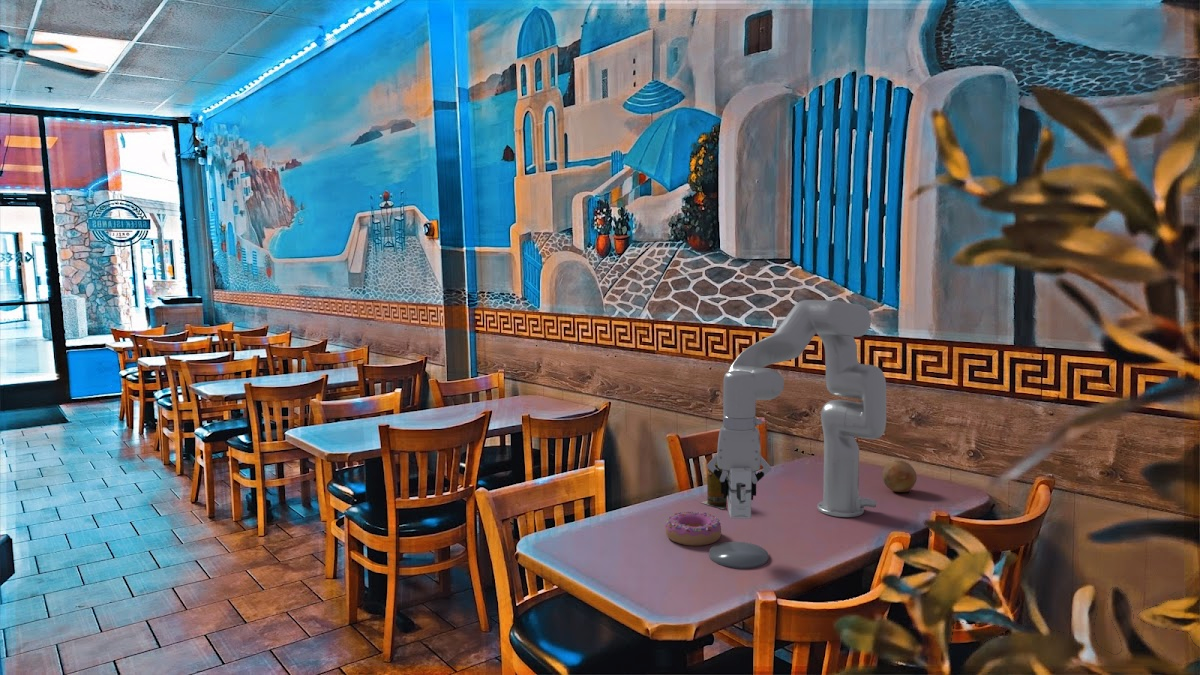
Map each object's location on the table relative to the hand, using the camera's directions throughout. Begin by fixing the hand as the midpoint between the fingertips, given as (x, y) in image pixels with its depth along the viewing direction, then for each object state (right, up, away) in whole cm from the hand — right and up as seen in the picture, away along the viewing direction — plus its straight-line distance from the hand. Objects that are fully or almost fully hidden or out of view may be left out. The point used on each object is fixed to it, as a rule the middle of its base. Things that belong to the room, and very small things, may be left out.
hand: (738, 496), depth 180 cm
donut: (-9, -14, +15) cm, 22 cm away
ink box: (0, -4, 0) cm, 4 cm away
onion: (+58, -9, +50) cm, 77 cm away
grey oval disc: (0, -15, +2) cm, 15 cm away
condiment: (+2, -11, +41) cm, 43 cm away
